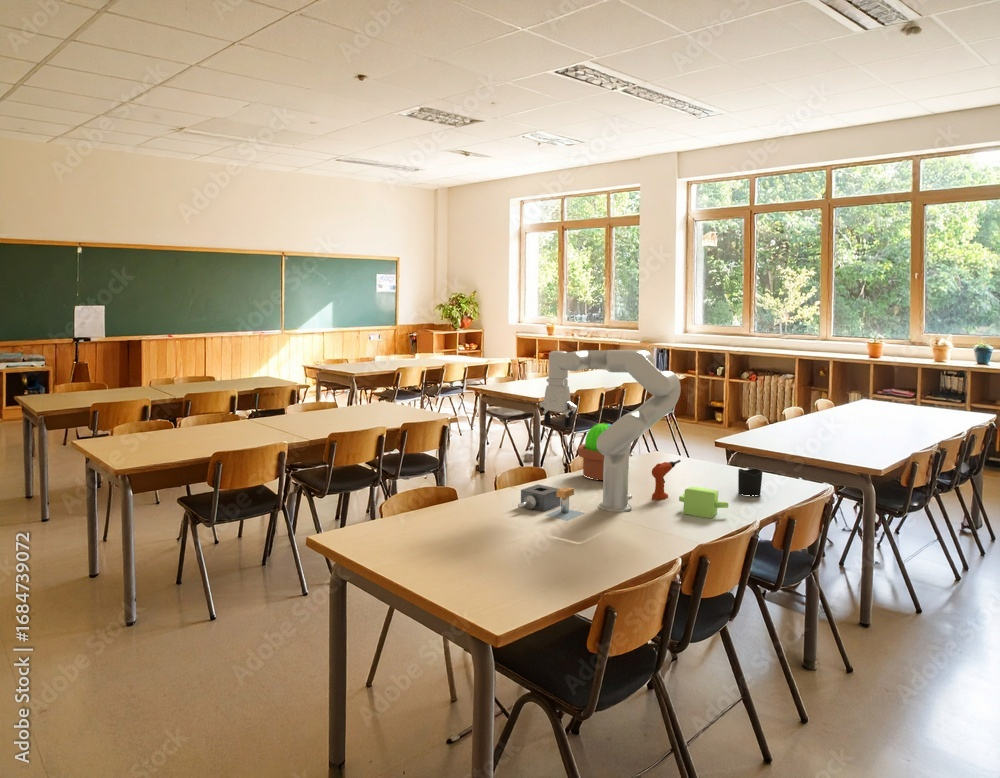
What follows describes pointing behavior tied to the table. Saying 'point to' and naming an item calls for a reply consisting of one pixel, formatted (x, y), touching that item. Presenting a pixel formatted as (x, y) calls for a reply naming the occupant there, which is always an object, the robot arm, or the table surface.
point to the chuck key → (565, 498)
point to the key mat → (565, 514)
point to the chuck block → (539, 498)
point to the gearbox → (701, 502)
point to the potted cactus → (593, 453)
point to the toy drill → (661, 478)
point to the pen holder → (749, 481)
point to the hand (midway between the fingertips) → (557, 425)
